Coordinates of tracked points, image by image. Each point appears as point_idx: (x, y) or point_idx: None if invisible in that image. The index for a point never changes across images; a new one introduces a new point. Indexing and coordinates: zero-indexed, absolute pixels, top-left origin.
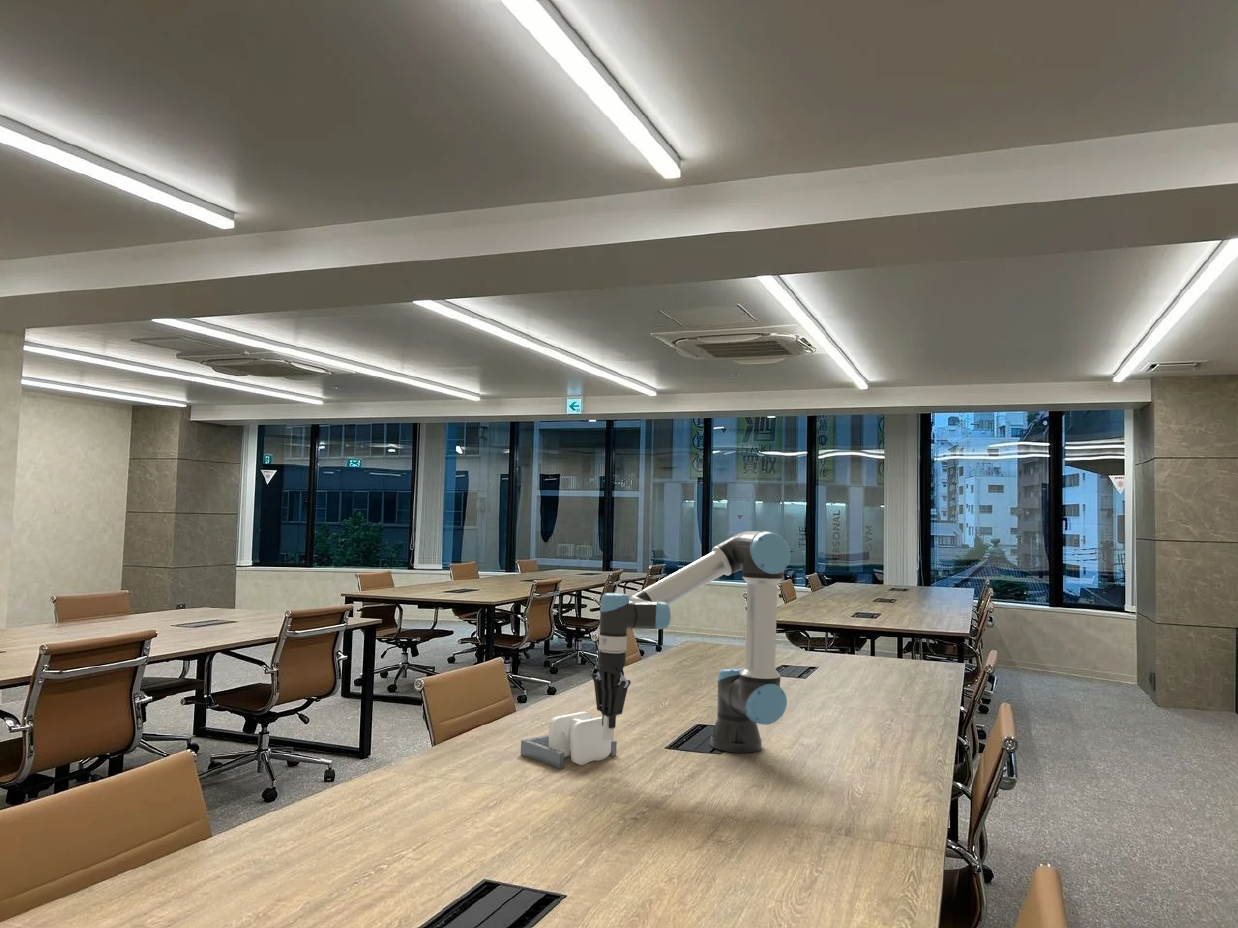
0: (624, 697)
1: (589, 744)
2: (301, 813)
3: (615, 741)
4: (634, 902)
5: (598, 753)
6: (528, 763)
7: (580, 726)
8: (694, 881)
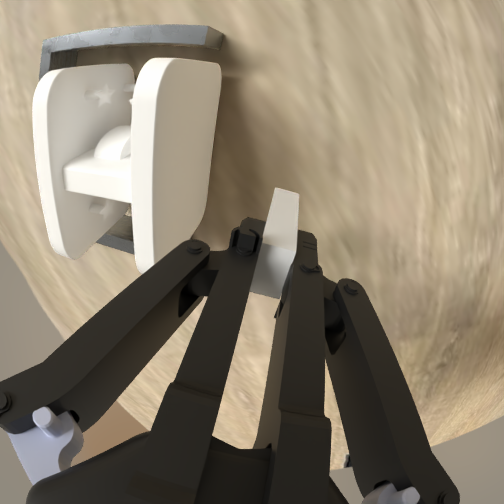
0: (399, 389)
1: (194, 182)
2: (152, 425)
3: (207, 31)
4: (447, 435)
5: (212, 127)
6: None
7: None
8: (487, 408)
